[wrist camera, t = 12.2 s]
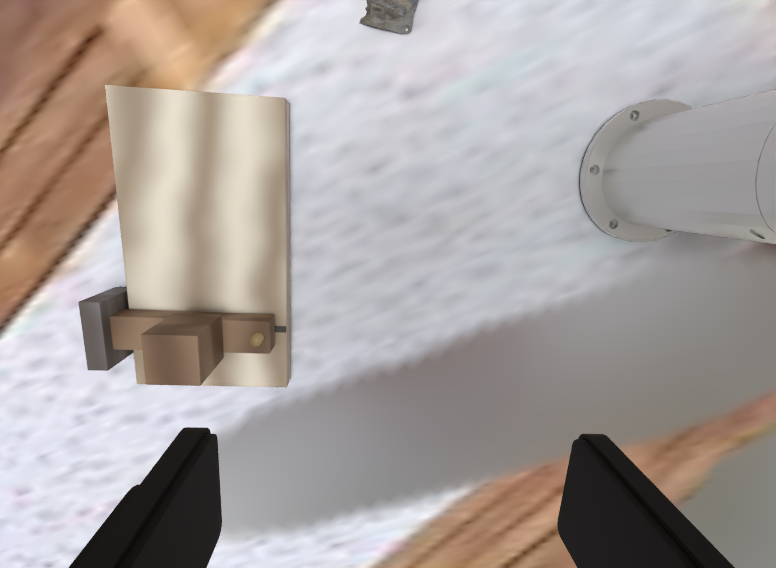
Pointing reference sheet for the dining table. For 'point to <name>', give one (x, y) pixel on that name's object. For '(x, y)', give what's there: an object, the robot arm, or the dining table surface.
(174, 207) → the board
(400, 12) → the driftwood
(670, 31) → the dining table surface
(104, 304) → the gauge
